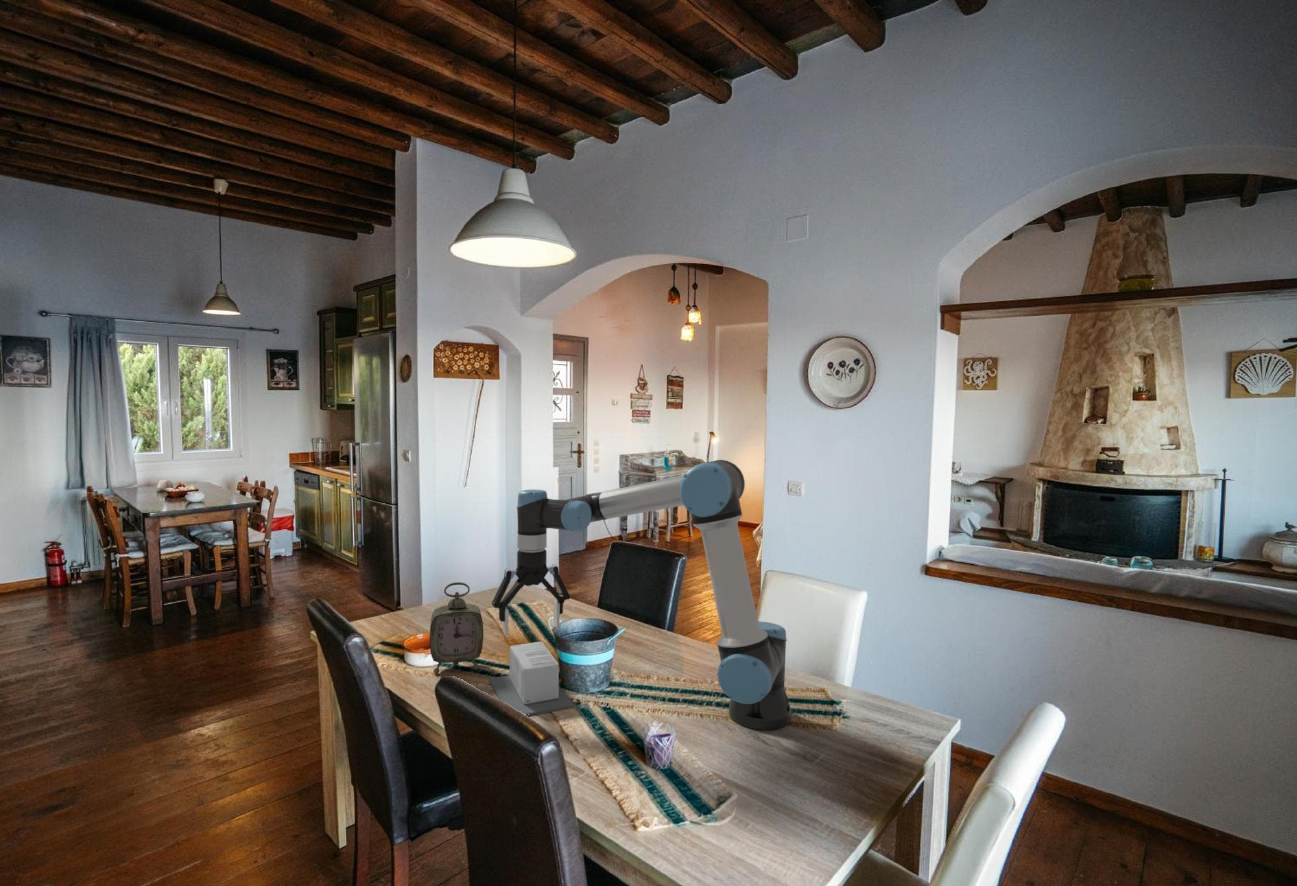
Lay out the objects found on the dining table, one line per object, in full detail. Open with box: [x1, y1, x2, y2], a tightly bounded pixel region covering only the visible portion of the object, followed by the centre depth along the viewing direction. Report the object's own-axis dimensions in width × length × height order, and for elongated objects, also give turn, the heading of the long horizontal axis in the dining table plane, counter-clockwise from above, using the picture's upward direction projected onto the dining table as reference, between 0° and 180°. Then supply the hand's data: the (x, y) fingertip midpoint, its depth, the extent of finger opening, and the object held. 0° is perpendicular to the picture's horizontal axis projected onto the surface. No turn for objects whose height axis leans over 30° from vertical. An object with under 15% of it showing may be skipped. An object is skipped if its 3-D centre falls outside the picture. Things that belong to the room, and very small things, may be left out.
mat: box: [489, 674, 574, 717], centre depth 167 cm, size 24×16×1 cm, turn 26°
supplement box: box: [509, 641, 560, 704], centre depth 168 cm, size 10×9×17 cm
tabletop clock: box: [429, 581, 484, 675], centre depth 181 cm, size 14×9×25 cm, turn 108°
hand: (531, 629), depth 166 cm, fingers open, 13 cm apart
